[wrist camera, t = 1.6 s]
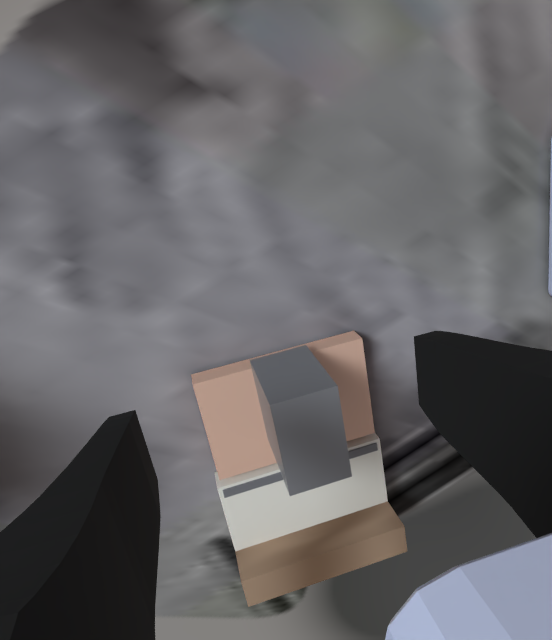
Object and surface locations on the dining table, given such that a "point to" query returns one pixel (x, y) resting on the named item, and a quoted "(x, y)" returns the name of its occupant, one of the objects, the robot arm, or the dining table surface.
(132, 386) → the dining table surface
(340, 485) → the board
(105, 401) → the dining table surface
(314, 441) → the grey and peach block
